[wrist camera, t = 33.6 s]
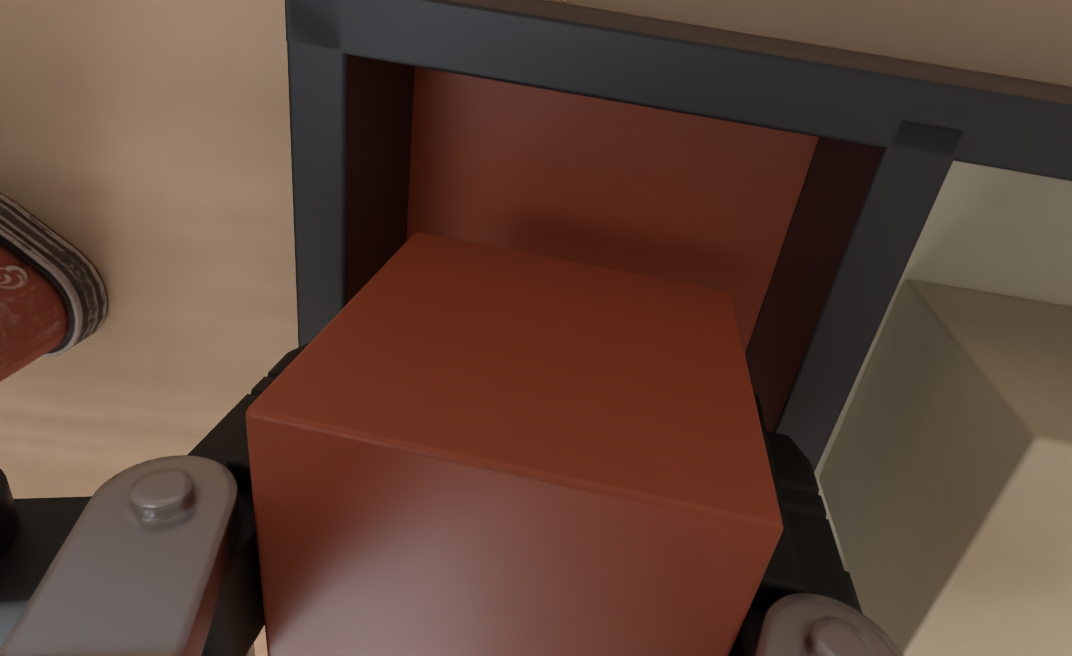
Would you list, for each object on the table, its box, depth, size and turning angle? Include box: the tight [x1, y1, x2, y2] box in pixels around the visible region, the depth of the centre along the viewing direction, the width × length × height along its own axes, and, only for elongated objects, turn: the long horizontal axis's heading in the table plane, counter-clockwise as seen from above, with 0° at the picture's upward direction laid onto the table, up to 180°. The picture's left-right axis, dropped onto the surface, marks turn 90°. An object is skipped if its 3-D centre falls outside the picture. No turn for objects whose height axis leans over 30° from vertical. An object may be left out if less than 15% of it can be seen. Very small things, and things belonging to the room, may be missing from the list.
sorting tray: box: [285, 0, 1072, 614], centre depth 12 cm, size 16×11×4 cm
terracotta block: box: [245, 232, 783, 656], centre depth 8 cm, size 4×4×4 cm
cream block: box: [819, 279, 1072, 656], centre depth 10 cm, size 4×4×4 cm
